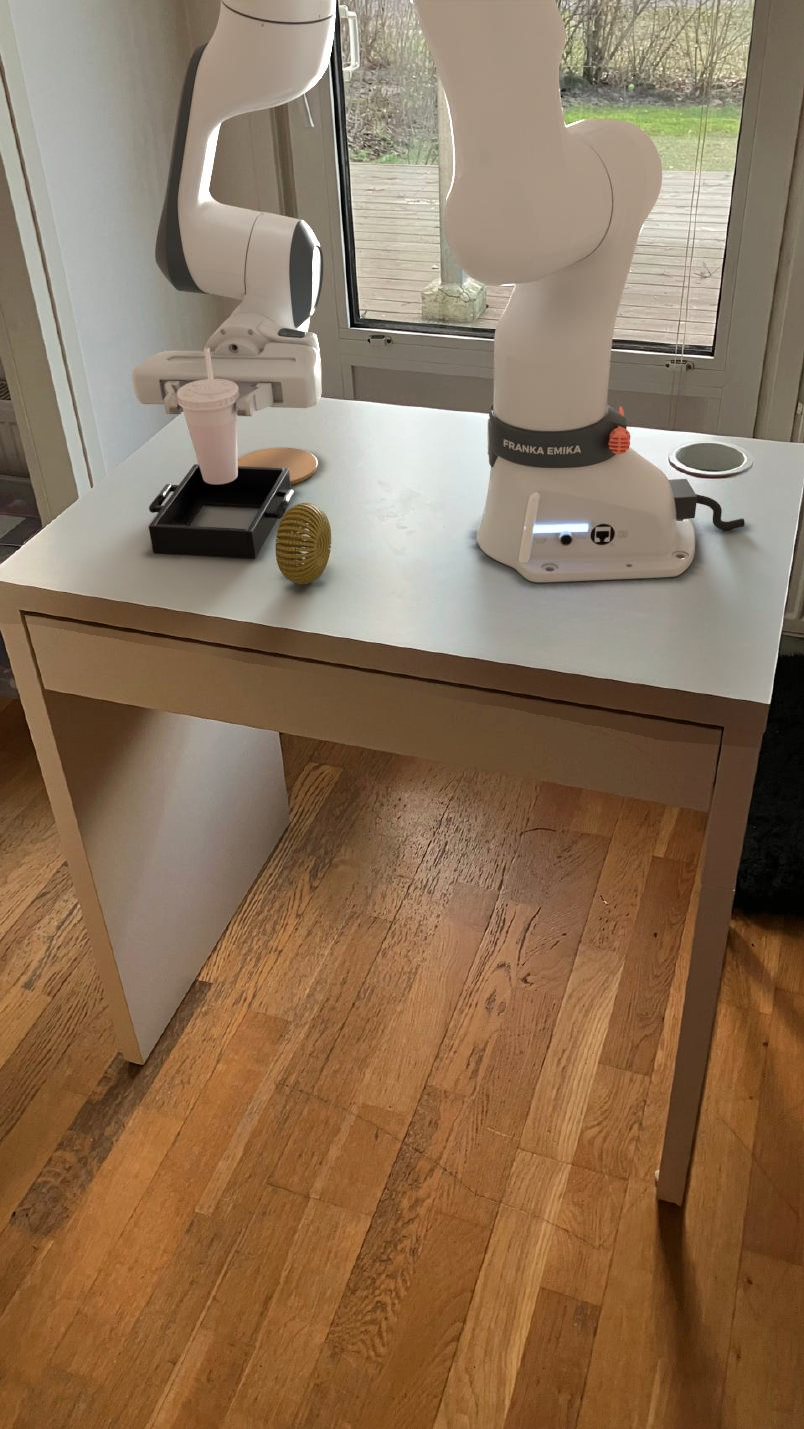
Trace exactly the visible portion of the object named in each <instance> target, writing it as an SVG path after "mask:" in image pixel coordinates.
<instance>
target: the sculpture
mask: <svg viewBox="0 0 804 1429" xmlns="http://www.w3.org/2000/svg"><path fill="white" fill-rule="evenodd" d="M331 549H332V528H331V524H330V521H329V518H328V516H327V514H326V513H325V511H323V510H322V508H320V507H319V506H317V505H316V504H313V503H310V502H300V503H297V504H295V505H293V506H291V507H290V508H289V509H288V510H286V511H285V513H284V515H283V516H282V518H281V519H280V522H279V525H278V528H277V532H276V537H275V558H276V563H277V566H278V569H279V570H280V572H281V574H282V575H283V577H284V578H285V579H286V580H288V581H289V582H292V583H293V584H297V585H307V584H311V583H313V582H314V581H316V580H318V579H319V578H320V577H321V575H322V574H323V573H324V571H325V570H326V567H327V565H328V562H329V559H330V556H331V555H330V554H331Z"/></svg>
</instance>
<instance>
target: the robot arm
mask: <svg viewBox="0 0 804 1429" xmlns="http://www.w3.org/2000/svg"><path fill="white" fill-rule="evenodd" d="M410 3H411V6H412V8H413V10H414V13H415V16H416V18H417V20H418V23H419V26H420V28H421V31H422V34H423V37H424V39H425V42H426V44H427V47H428V50H429V53H430V56H431V59H432V61H433V63H434V66H435V69H436V71H437V74H438V76H439V80H440V82H441V87H442V90H443V93H444V96H445V100H446V105H447V109H448V115H449V120H450V129H451V136H452V147H453V148H452V149H453V175H452V182H451V186H450V189H449V191H448V194H447V197H446V201H445V205H444V211H443V230H444V235H445V240H446V243H447V246H448V249H449V251H450V254H451V256H452V257H453V259H454V260H455V262H456V263H457V265H458V266H459V268H460V269H461V270H462V271H463V272H464V273H465V274H467V275H468V276H469V277H470V278H472V280H474V281H476V282H479V283H481V284H483V285H487V286H493V287H494V286H495V287H501V286H514V287H513V290H512V292H511V296H510V298H509V300H508V301H507V302H508V303H507V305H506V306H505V309H504V310H503V312H501V313H502V314H501V315H500V317H499V319H498V321H497V324H496V327H495V330H494V335H493V401H492V402H493V403H492V405H491V406H490V409H489V410H490V411H489V413H488V418H487V435H486V436H487V437H486V438H487V440H486V441H487V442H486V443H487V444H486V445H487V456H488V464H489V466H490V471H489V480H488V485H487V486H488V487H487V493H486V499H485V504H484V509H483V512H482V516H481V519H480V523H479V526H478V529H477V531H476V541H477V545H478V546H479V548H480V549H481V550H482V551H483V553H485V554H486V555H487V556H489V557H490V558H492V559H493V560H495V561H497V562H499V563H501V564H503V565H506V566H509V567H510V568H513V569H514V570H516V571H517V573H519V574H520V575H521V577H523V578H525V579H526V580H528V581H529V582H531V583H532V582H533V583H560V582H563V583H564V582H585V581H587V582H588V581H607V580H608V581H609V580H610V581H611V580H633V579H635V580H636V579H655V578H658V579H659V578H674V577H678V576H680V575H682V574H683V573H684V572H685V571H686V570H687V569H688V568H689V567H690V565H691V564H692V563H693V560H694V558H695V554H696V533H695V528H694V525H693V522H692V521H691V519H696V512H697V511H696V509H697V504H699V505H703V506H707V507H709V508H710V509H711V510H712V524H713V526H714V527H716V528H717V529H719V530H721V531H722V530H723V531H730V530H735V529H738V528H744V527H745V521H746V520H745V518H736V519H732V520H728V521H727V520H726V521H724V520H722V515H723V509H722V506H721V504H720V503H719V502H718V501H717V500H715V499H714V498H711V497H709V496H707V495H706V496H705V495H702V494H697V493H696V492H695V490H694V488H693V487H692V485H691V483H690V482H689V481H688V479H687V478H674V479H673V478H672V479H669V478H668V477H667V475H666V473H665V472H664V471H663V470H662V469H661V468H659V467H658V466H656V465H655V464H654V463H652V462H651V461H650V460H648V459H646V458H645V457H644V456H642V455H641V454H640V453H639V452H637V451H636V450H634V448H632V447H631V434H630V431H629V430H628V429H627V428H628V426H627V425H628V424H627V420H628V419H627V418H626V417H625V411H624V409H623V406H621V405H620V406H619V411H617V410H616V409H615V408H613V407H612V406H610V405H609V404H608V397H609V381H610V370H611V359H612V357H611V356H612V348H613V337H614V332H615V326H616V321H617V316H618V312H619V308H620V306H621V305H620V304H621V301H622V297H623V294H624V290H625V286H626V283H627V279H628V276H629V271H630V270H631V266H632V261H633V259H634V255H635V251H636V248H637V246H638V241H639V238H640V235H641V234H642V233H641V232H642V230H643V228H644V225H645V224H646V221H647V219H648V217H649V216H650V214H651V212H652V210H653V209H654V207H655V205H656V203H657V201H658V199H659V196H660V193H661V189H662V184H663V166H662V161H661V157H660V154H659V151H658V148H657V146H656V144H655V142H654V141H653V139H652V138H651V137H650V136H649V135H648V134H647V132H645V131H644V130H643V129H642V128H641V127H639V126H638V125H636V124H634V123H632V122H629V121H626V120H620V119H619V120H618V119H612V118H586V119H581V120H579V121H576V122H573V123H570V124H566V122H565V117H564V112H563V107H562V99H561V88H560V62H561V58H562V55H563V53H564V50H565V47H566V40H567V39H566V38H567V36H566V34H567V33H566V27H565V23H564V20H563V17H562V15H561V12H560V10H559V9H560V8H559V6H558V3H557V0H410ZM336 7H337V0H220V9H219V16H218V20H217V24H216V27H215V30H214V32H213V33H212V34H213V35H212V36H211V37H210V38H211V39H210V40H209V41H208V42H205V43H203V44H200V45H199V46H197V47H196V48H195V49H194V51H193V53H192V55H191V57H190V59H189V61H188V64H187V67H186V70H185V72H184V73H185V74H184V77H183V81H182V85H181V89H180V97H179V102H178V108H177V114H176V121H175V127H174V133H173V141H172V147H171V155H170V161H169V168H168V176H167V182H166V190H165V195H164V201H163V205H162V210H161V213H160V219H159V223H158V226H157V230H156V236H155V241H154V242H155V243H154V258H155V263H156V265H157V267H158V269H159V270H160V272H161V273H162V275H163V276H164V277H165V279H166V280H167V281H168V282H169V283H170V284H171V285H172V286H173V288H174V289H175V290H177V291H178V292H185V293H193V294H194V293H195V294H204V295H209V294H210V295H211V294H212V295H215V296H220V297H225V298H230V299H235V300H238V301H242V302H240V304H238V306H236V308H235V309H233V311H232V312H231V314H230V316H229V317H228V318H226V319H225V320H224V321H223V322H222V323H221V324H220V325H219V327H218V328H217V329H215V331H214V332H213V334H212V335H211V336H210V337H209V338H208V339H207V341H206V344H205V346H204V348H205V347H209V349H210V356H211V363H212V370H213V377H214V379H224V380H229V381H232V382H234V383H235V384H237V386H238V389H239V394H240V395H239V397H238V398H237V399H236V408H237V417H253V416H254V414H255V413H256V412H258V411H262V410H264V409H267V408H283V409H284V408H286V409H287V408H288V409H290V408H291V409H308V408H313V407H315V406H317V405H318V404H319V402H320V400H321V398H322V395H323V387H322V385H323V384H322V375H323V374H322V358H321V352H320V346H319V341H318V337H317V334H315V333H314V332H310V331H309V328H310V319H311V316H313V314H314V313H315V311H316V309H317V306H318V304H319V302H320V298H321V293H322V287H323V286H322V285H323V278H324V254H323V250H322V248H321V245H320V242H319V241H318V239H317V237H316V235H315V233H314V232H313V230H312V228H311V227H310V225H308V223H307V222H306V221H305V220H304V219H299V218H295V217H289V216H286V215H280V214H276V213H272V212H267V211H258V210H255V209H254V210H253V209H248V208H244V207H238V206H233V205H229V204H225V203H221V202H219V201H217V200H216V199H215V198H214V197H212V195H211V193H210V190H209V189H210V183H211V176H212V172H213V166H214V160H215V155H216V149H217V141H218V137H219V131H220V128H221V124H222V123H223V122H225V121H226V120H229V119H231V118H233V117H236V116H240V115H243V114H247V113H251V112H255V111H261V110H266V109H271V108H275V107H278V106H281V105H285V104H286V103H290V102H291V101H293V100H296V99H297V98H299V97H301V96H303V95H304V94H306V93H307V92H309V91H310V90H311V89H312V88H313V87H314V86H315V85H316V84H317V83H318V82H319V80H320V79H321V78H322V76H323V75H324V73H325V71H326V70H327V68H328V65H329V62H330V58H331V53H332V47H333V41H334V35H335V34H334V32H335V23H336ZM131 378H132V386H133V391H134V394H135V397H136V400H137V401H139V403H140V404H142V405H163V406H164V410H165V414H166V415H182V413H184V412H183V408H182V407H181V406H180V405H179V404H178V401H177V400H178V398H177V391H178V390H179V389H180V388H181V387H182V386H184V385H186V384H188V383H191V382H194V381H198V380H204V379H208V374H207V367H206V360H205V353H204V350H164V351H160V352H157V353H155V354H152V355H151V356H149V357H148V358H147V359H145V360H144V361H142V362H141V363H140V364H138V365H137V366H136V367H135V368H133V371H132V373H131Z"/></svg>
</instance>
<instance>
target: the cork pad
mask: <svg viewBox="0 0 804 1429" xmlns="http://www.w3.org/2000/svg"><path fill="white" fill-rule="evenodd" d="M318 463H319V462H318V459H317V457H316V456H315V455H314V454H312V453H311V452H309V451H306V450H303V449H301V448H295V447H270V448H269V447H268V448H263V449H259V450H255V451H251V452H250V453H249V452H248V453H247V454H244V455H242V456H241V457H240V458H238V459H237V464H238V466H245V467H269V468H289V474H290V484H291V485H295V484H298V483H301V482H304V481H306V480H307V479H310V477H312V476H313V475H315V473H316V472H317V470H318V466H319V464H318Z"/></svg>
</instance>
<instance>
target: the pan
mask: <svg viewBox="0 0 804 1429" xmlns="http://www.w3.org/2000/svg"><path fill="white" fill-rule="evenodd" d="M171 493H172V494H171ZM170 494H171V495H170ZM294 496H295V491H294V490H293V489H292V484H290V474H289V468H269V467H245V466H238V476H237V478H236V479H235V480H233V481H231V482H229V483H225V484H209V483H206V482H205V481H204V480H203V477H202V473H201V470H200V467H199V463H197V464H196V463H195V464H193V465H192V466H191V468H190V469H189V470H188V472H187V473H186V475H185V476H184V477H183V479H181V481H180V483H179V484H170V483H167V484H165V485H164V486H163V488H162V489H161V490H160V492H159V493H158V494H157V495H156V497H155V498H154V500H153V501H152V502H151V504H150V505H149V506H148V510H149V512H150V513H152V514H155V513H157V514H156V516H155V517H154V518H153V520H151V522H150V524H149V525H148V531H149V537H150V543H151V547H152V553H153V554H161V555H178V556H195V557H196V556H198V557H213V558H214V557H215V558H234V559H250V560H252V559H253V560H255V559H256V558H257V557H258V555H259V553H260V551H261V549H263V548H262V547H263V546H264V544H265V542H266V540H267V539H268V537H269V535H270V534H271V532H272V530H273V529H274V527H275V524H276V522H277V521H278V520H282V518H283V516H284V514H285V513H286V512H287V509H288V507H289V506H290V503H291V502H292V500H293V498H294ZM168 497H169V498H168ZM167 498H168V499H167ZM164 502H165V503H164ZM163 503H164V504H163ZM204 506H205V507H222V508H223V507H225V508H241V509H242V508H245V509H246V508H247V509H258V511H257V513H256V514H255V516H254V518H253V520H252V522H251V523H250V525H249V527H248V528H240V527H239V528H237V527H217V526H200V525H199V526H198V525H192V523H193V521H194V520H195V519H196V517H197V516H198V514H199V513H200V511H201V509H202V508H203V507H204Z"/></svg>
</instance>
